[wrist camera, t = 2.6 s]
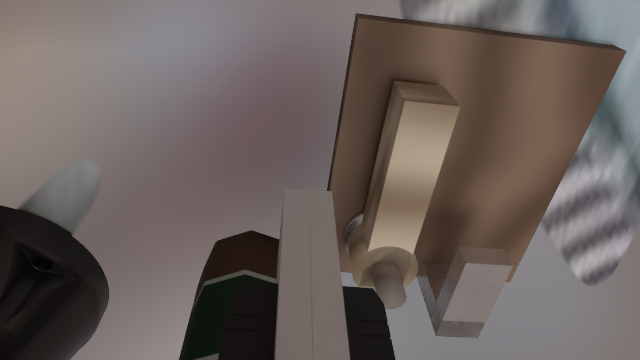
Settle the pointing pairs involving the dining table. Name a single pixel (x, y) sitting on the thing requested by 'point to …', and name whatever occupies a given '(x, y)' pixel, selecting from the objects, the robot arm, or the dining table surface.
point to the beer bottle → (226, 288)
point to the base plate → (471, 126)
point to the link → (401, 188)
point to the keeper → (457, 286)
